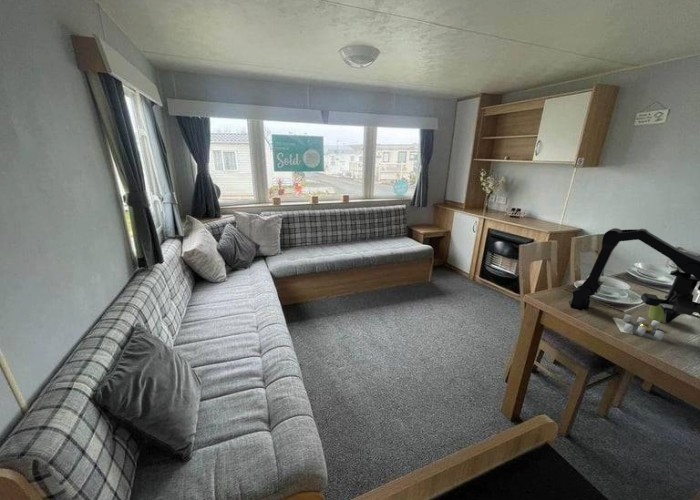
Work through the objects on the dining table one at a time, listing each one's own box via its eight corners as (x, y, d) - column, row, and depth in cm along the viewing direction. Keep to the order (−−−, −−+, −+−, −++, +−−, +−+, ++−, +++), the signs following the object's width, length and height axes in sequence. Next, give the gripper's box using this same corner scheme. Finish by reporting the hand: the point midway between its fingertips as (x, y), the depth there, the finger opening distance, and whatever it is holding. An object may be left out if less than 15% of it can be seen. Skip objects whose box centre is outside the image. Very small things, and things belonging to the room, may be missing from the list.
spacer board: (620, 332, 121) (623, 325, 120) (611, 318, 131) (614, 311, 130) (667, 343, 115) (671, 336, 113) (655, 328, 125) (658, 320, 123)
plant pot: (663, 327, 125) (671, 310, 122) (637, 315, 134) (644, 299, 131) (677, 324, 128) (685, 307, 125) (651, 313, 136) (658, 296, 133)
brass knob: (639, 331, 121) (641, 325, 120) (635, 326, 124) (638, 321, 124) (651, 334, 119) (654, 328, 118) (648, 329, 123) (650, 323, 122)
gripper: (658, 291, 110) (643, 325, 115) (730, 304, 101) (710, 340, 107) (647, 279, 119) (633, 312, 124) (712, 290, 111) (694, 325, 116)
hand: (666, 322), depth 118 cm, fingers closed
